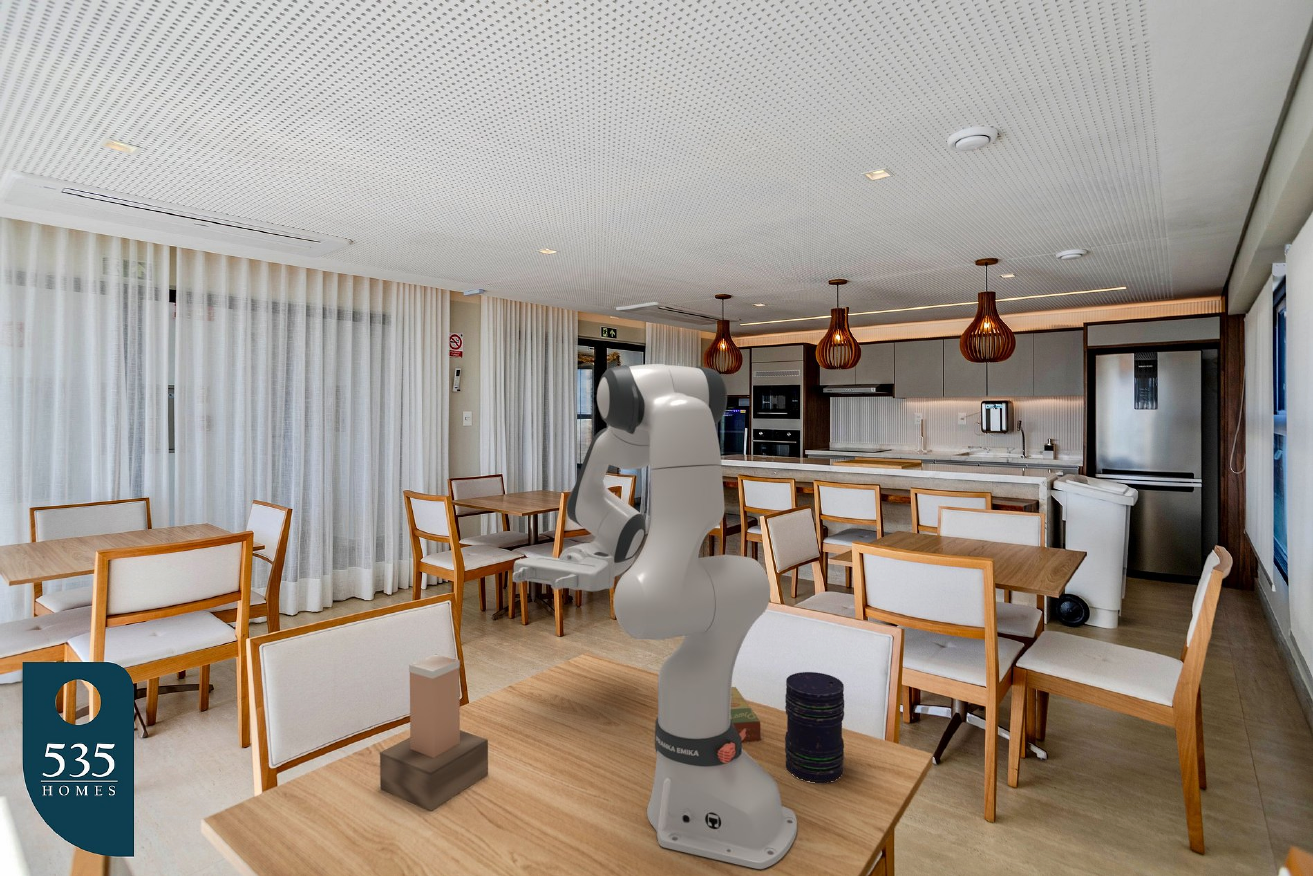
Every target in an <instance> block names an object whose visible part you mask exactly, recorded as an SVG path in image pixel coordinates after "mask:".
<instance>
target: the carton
mask: <svg viewBox="0 0 1313 876" xmlns="http://www.w3.org/2000/svg"><path fill="white" fill-rule="evenodd" d="M730 719H731V720H732V722H733V724H734V727H735V729H736V730H737V732H738V733H739V734H740V733H741V732H742V730H743V729H746V732H745V734H746V736H745V738H744V739H743V740H742V741H746V742H755V741H760V740H761V720H760V719H759V718H758V716H757V715H756V713H755V712H754V711H753V709H752V708H751V707H750V705H749V704H748V702H747V701H746V699H745V697H744V696H743V695H742V693H741V692H740V691H739V689H738V688H737V687H736V686H732V687H731V714H730Z"/></svg>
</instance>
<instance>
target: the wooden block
mask: <svg viewBox="0 0 1313 876" xmlns="http://www.w3.org/2000/svg"><path fill="white" fill-rule="evenodd" d="M379 765H380V766H379V767H380V768H379V769H380V770H379V773H380V775H379V776H380V782H379V783H380V788H381V789H380V790H383V791H384V792H388V793H389V794H391V795H394V796H395V797H398V798H401V799H403V800H405V801H407V802H409V803H410V804H411V803H412V804H413V805H417V806H419V807H420V808H423V809H425V810H427V811H430V812H432V811H434V810H435V809H437V808H439V807H440V806H442V805H443V804H445V803H446V802H448V801H449V800H451V799H453V798H454V797H456V796H458V794H460V793H463V791H465V790H467V789H468V788H469V787H471V786H473V785H474V784H475V783H477V782H479V781H480V780H482V779H484V778H485V777H487V776H488V775H489V739H487V738H485V737H481V736H479V735H477V734H476V735H475V734H472V733H469V732H468V731H463V730H461V729H460V743H459V744H457V745H455V746H454V747H452V748H450V749H448V750H446V751H445V752H443V753H441V754H439V755H437V756H436V757H434V758H433V757H430V756H428V755H425V754H423V753H420V752H417V751H415V750H412V749H410V737H407V738H405V739H404V740H402V741H400V742H398V743H396V744H393V745H392V746H390V747H388V748H386V749H384V750H382V751H380V753H379Z"/></svg>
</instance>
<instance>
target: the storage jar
mask: <svg viewBox="0 0 1313 876" xmlns="http://www.w3.org/2000/svg"><path fill="white" fill-rule="evenodd" d="M785 679H786V680H785V686H786V688H785V689H786V690H785V691H786V692H785V707H784V709H785V713H786V715H787V717H786V718H787V721H786V723H787V725H786V733H785V737H784V741H785V743H784V752H785V768H787V769H786V771H787V770H788V771H789V772H790V773H791V774H793V775H794V776H795V777H798V778H799V779H803V780H805V781H810V782H815V783H827V782H831V781H835V780H836V779H838V778H839V777H841V775H842V774H843V775H844V767H843V765H844V759H845V751H844V749H845V743H844V738H843V721H844V718H845V699H844V691H845V688H844V687H845V686H844V683H843V682H842V681H841V680H840V679H839V678H838V677H835V676H833V675H830V674H826V673H820V672H814V671H802V672H801V671H800V672H795V673H792V674H790V675H789V676H788V677H786V678H785ZM788 771H787V772H788ZM789 772H788V773H789ZM790 773H789V774H790ZM791 774H790V775H791ZM843 775H842V776H843ZM794 776H793V777H794ZM795 777H794V778H795ZM841 778H842V777H841ZM799 779H798V780H799ZM805 781H804V782H805ZM835 782H836V781H835Z"/></svg>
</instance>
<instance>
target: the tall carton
mask: <svg viewBox="0 0 1313 876" xmlns="http://www.w3.org/2000/svg"><path fill="white" fill-rule="evenodd" d="M460 662H461V661H460V659H456V658H453V657H449V656H445V655H442V654H438V653H436V654H434V655H433V654H432V655H430V656H427V657H424V658H422V659H420V660H417V661H415V662H413V663H410V664H408V667H409V668H408V671H409V719H410V720H409V721H410V722H409V725H410V726H409V729H410V731H409V733H410V737H409V738H410V749H412V750H415V751H417V752H420V753H423V754H425V755H428V756H430V757H433V758H434V757H436V756H437V755H439V754H441V753H443V752H445V751H446V750H448V749H450V748H452V747H454V746H455V745H457V744H459V743H460V730H461V726H460V724H461V720H460V719H461V718H460V717H461V713H460V712H461V711H460V707H461V706H460V704H461V703H460V701H461V700H460V666H461V665H460V664H461V663H460Z"/></svg>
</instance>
